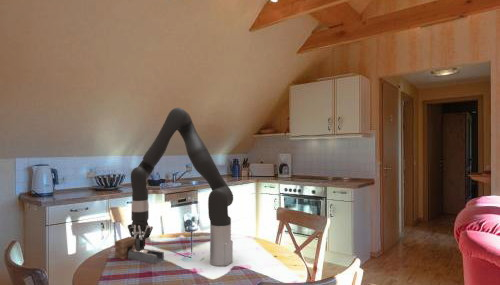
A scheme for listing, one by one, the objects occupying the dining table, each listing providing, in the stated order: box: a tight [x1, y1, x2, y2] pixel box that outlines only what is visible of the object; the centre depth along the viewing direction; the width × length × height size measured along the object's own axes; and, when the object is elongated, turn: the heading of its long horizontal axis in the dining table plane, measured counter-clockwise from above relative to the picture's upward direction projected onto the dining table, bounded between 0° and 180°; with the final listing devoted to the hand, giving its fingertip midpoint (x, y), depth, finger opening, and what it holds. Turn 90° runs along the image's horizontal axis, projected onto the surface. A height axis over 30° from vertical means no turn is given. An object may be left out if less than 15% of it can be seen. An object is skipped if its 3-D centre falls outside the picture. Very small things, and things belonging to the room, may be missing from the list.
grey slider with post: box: [127, 237, 149, 254], centre depth 151 cm, size 13×3×8 cm, turn 66°
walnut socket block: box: [114, 236, 136, 260], centre depth 154 cm, size 5×8×8 cm, turn 156°
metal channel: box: [127, 248, 165, 265], centre depth 149 cm, size 16×6×4 cm, turn 66°
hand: (139, 247), depth 150 cm, fingers closed on grey slider with post, 2 cm apart
